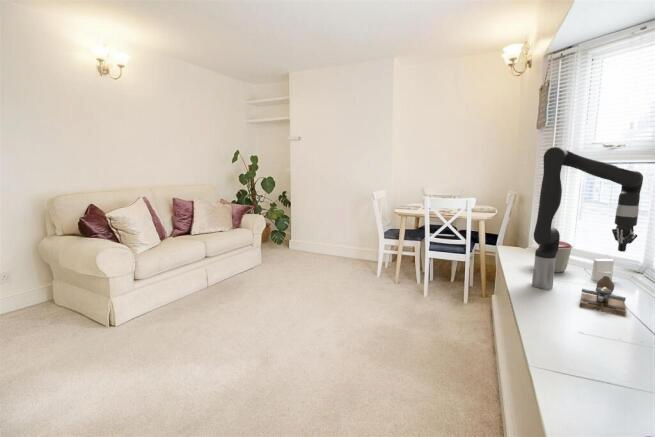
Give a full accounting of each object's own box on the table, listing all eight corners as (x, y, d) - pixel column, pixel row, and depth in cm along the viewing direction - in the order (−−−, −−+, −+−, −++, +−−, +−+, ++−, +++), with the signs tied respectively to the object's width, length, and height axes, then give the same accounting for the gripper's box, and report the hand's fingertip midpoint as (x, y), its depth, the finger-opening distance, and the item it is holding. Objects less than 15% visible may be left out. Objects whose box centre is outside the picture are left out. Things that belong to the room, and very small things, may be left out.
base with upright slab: (603, 277, 187) (606, 257, 185) (616, 282, 178) (618, 262, 176) (587, 277, 188) (589, 257, 186) (598, 282, 179) (601, 262, 177)
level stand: (579, 306, 151) (580, 301, 151) (581, 296, 162) (581, 291, 161) (625, 315, 141) (626, 310, 141) (623, 304, 151) (624, 299, 151)
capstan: (622, 311, 140) (624, 298, 139) (578, 301, 152) (579, 289, 150) (626, 299, 151) (628, 287, 150) (585, 291, 163) (586, 279, 162)
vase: (616, 295, 162) (618, 279, 160) (600, 295, 163) (602, 278, 162) (607, 290, 168) (609, 274, 167) (592, 289, 170) (594, 274, 168)
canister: (568, 268, 205) (572, 235, 201) (571, 276, 190) (575, 242, 186) (535, 264, 214) (537, 233, 211) (535, 271, 199) (538, 239, 196)
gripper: (607, 212, 154) (603, 247, 157) (628, 217, 141) (622, 255, 144) (625, 212, 152) (620, 247, 155) (647, 217, 140) (641, 255, 143)
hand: (621, 251), depth 150 cm, fingers closed
